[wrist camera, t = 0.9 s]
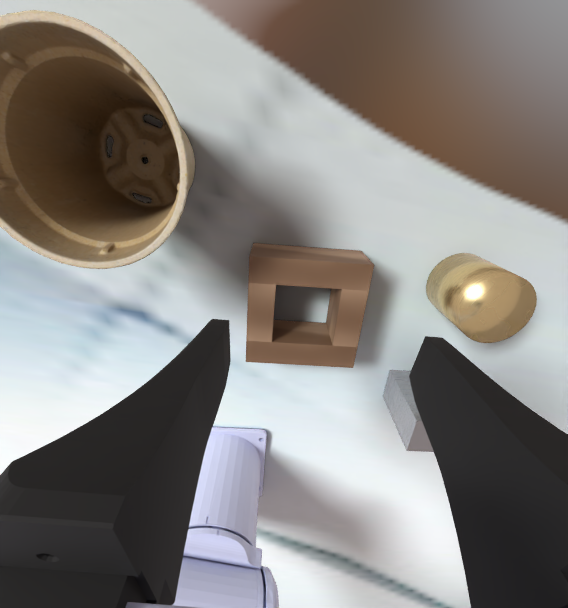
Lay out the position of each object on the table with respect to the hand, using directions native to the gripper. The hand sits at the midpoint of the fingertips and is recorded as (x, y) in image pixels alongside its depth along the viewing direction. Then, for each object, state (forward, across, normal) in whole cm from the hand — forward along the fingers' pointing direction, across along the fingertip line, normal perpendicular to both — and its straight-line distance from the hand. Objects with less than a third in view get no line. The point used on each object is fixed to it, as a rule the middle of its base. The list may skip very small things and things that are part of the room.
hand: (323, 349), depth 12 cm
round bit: (+13, -12, +4) cm, 18 cm away
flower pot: (+13, +11, -4) cm, 18 cm away
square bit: (+11, -10, +13) cm, 20 cm away
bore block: (+12, 0, +5) cm, 13 cm away
